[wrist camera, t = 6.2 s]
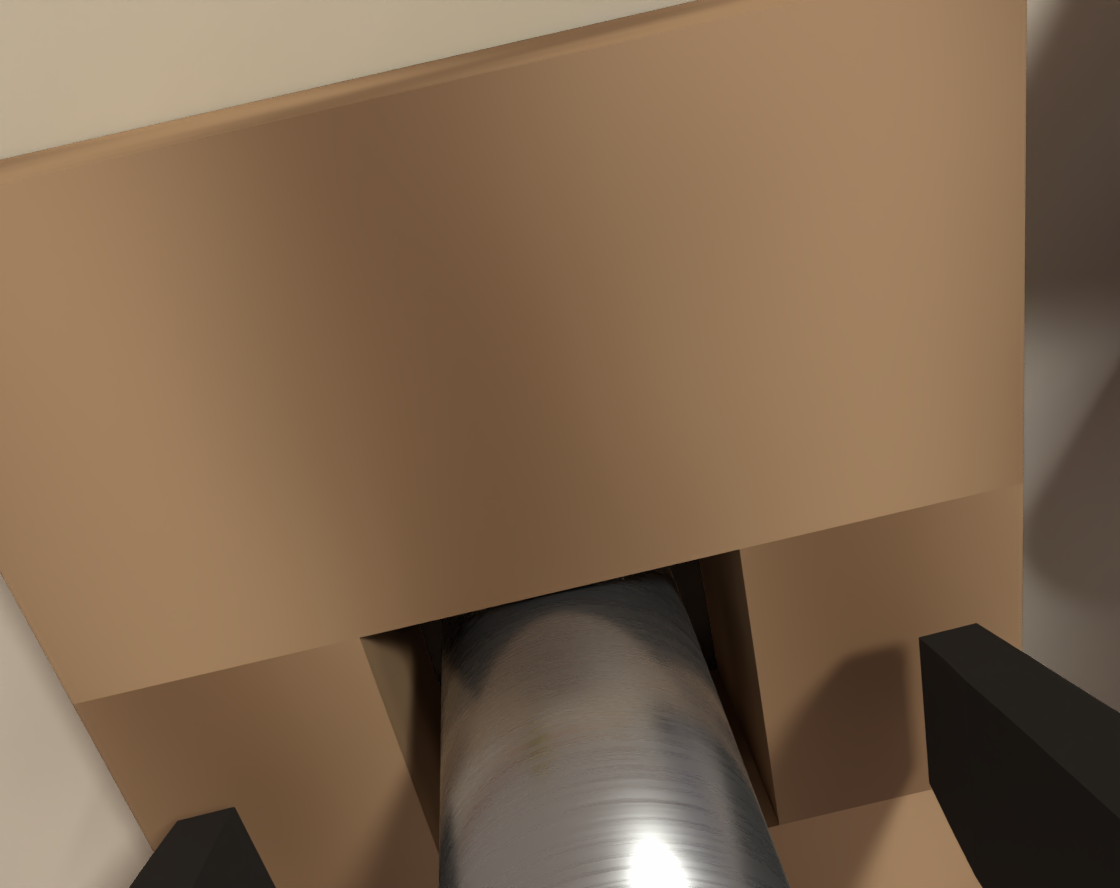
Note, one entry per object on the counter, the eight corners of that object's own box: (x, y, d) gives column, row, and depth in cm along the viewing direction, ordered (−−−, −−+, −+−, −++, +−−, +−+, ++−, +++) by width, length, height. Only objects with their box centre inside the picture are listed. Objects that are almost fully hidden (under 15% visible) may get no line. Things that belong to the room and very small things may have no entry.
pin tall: (652, 452, 13) (847, 906, 7) (667, 636, 14) (841, 1161, 8) (425, 486, 13) (400, 980, 6) (461, 668, 14) (470, 1228, 8)
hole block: (878, -42, 11) (1028, -52, 8) (926, 856, 17) (1018, 1024, 14) (-25, 166, 10) (-189, 227, 8) (355, 990, 17) (336, 1186, 14)
